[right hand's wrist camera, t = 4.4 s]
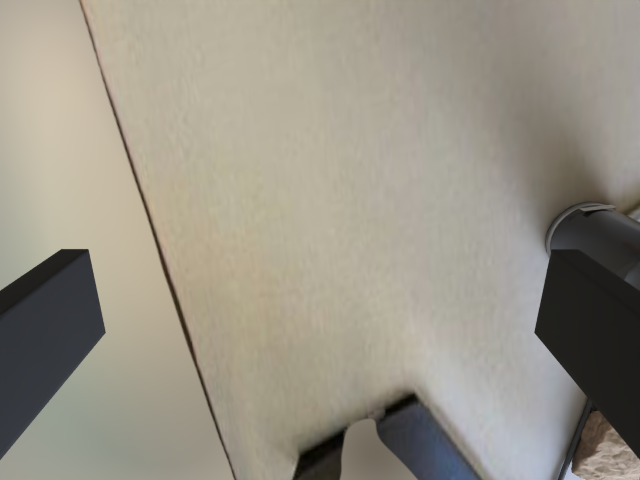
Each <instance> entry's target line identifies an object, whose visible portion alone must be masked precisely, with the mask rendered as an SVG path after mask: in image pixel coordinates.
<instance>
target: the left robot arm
mask: <svg viewBox="0 0 640 480" xmlns="http://www.w3.org/2000/svg"><path fill="white" fill-rule="evenodd" d="M615 207H616V206H614V205H604V204H602V203H597V202H586V203H581V204H577V205H575V206H572V207H570V208H569V209H567V210H565V211H564V212H563V213H561V214H560V215H559V216H558V217H557V218H556V219H555V221H554V222H553V223H552V225H551V227H550V228H549V231H548V233H547V237H546V251H547V254H548V256H549V258H550V254H551V250H552V249H579V250H580V251H582V252H583V253H585V254H586V255H588V256H589V257H591V258H592V259H594V260H595V261H597V262H598V263H600V264H601V265H603V266H604V267H606V268H607V269H608V270H610V271H611V272H613V273H614V274H616V275H617V276H619V277H620V278H622V279H623V280H625V281H626V282H628V283H629V284H631V285H632V286H634V287H635V288H636V289H638V290H639V291H640V222H639V221H637V220H635V219H633V218H630V217H628V216H626V215H624V214H622V213H620V212H618V211H616V210H614V209H613V208H615ZM592 405H593V403H592V402H591V400H590V399H589V398H588V401H587V404H586V407H585V410H584V413H583V416H582V418H581V421H580V424H579V426H578V429H577V431H576V434H575V436H574V439H573V442H572V444H571V447H570V449H569V452H568V454H567V457H566V459H565V462H564V464H563V467H562V469H561V472H560V475H559V477H558V480H564V477H565V474H566V472H567V469H568V467H569V464H570V462H571V459H572V457H573V455H574V452H575V450H576V447H577V445H578V442H579V440H580V437H581V434H582V431H583V428H584V427H585V424H586V421H587V419H588V416H589V414H590V411H591V408H592Z"/></svg>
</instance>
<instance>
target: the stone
mask: <svg viewBox="0 0 640 480" xmlns="http://www.w3.org/2000/svg"><path fill="white" fill-rule="evenodd" d="M571 470H572V473H574V474H575V475H577V476H579V477H580V478H583V479H586V480H640V460H639V458H638V457H637V456H636V455H635V454H634V452H633V451H632V450H631V449H630V448H629V446H628V445H627V444H626V443H625V442H624V440H623V439H622V438H621V437H620V435H619V434H618V433H617V432H616V431H615V429H614V428H613V427H612V426H611V425H610V423H609V422H608V421H607V420H606V419H605V417H604V416H603V415H602V414H601V413H600V411H593V412H591V413H590V414H589V416H588V419H587V421H586V424H585V427H584V428H583V431H582V434H581V441H580V443H579V444H578V447H577V450H576V453H575V456H574V457H573V460H572V468H571Z"/></svg>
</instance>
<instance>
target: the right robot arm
mask: <svg viewBox="0 0 640 480" xmlns="http://www.w3.org/2000/svg"><path fill="white" fill-rule="evenodd" d="M105 333H106V332H105V327H104V322H103V317H102V313H101V308H100V303H99V298H98V293H97V289H96V284H95V279H94V274H93V269H92V264H91V260H90V254H89V250H88V249H61V250H60V251H58V252H57V253H55V254H54V255H52V256H51V257H49V258H48V259H46V260H45V261H43V262H42V263H40V264H39V265H37V266H36V267H34V268H33V269H32V270H30V271H29V272H27V273H26V274H24V275H23V276H21V277H20V278H18V279H17V280H15V281H14V282H12V283H11V284H9V285H8V286H6V287H5V288H4V289H2V290H1V291H0V460H1V458H2V457H3V456H4V455H5V454H6V452H7V451H8V450H9V449H10V447H11V446H12V445H13V444H14V443H15V442H16V440H17V439H18V438H19V437H20V435H21V434H22V433H23V432H24V431H25V429H26V428H27V427H28V426H29V425H30V423H31V422H32V421H33V420H34V419H35V417H36V416H37V415H38V414H39V413H40V411H41V410H42V409H43V408H44V406H45V405H46V404H47V403H48V402H49V400H50V399H51V398H52V397H53V396H54V394H55V393H56V392H57V391H58V390H59V388H60V387H61V386H62V385H63V383H64V382H65V381H66V380H67V379H68V377H69V376H70V375H71V374H72V373H73V371H74V370H75V369H76V368H77V367H78V365H79V364H80V363H81V362H82V361H83V359H84V358H85V357H86V356H87V355H88V353H89V352H90V351H91V350H92V348H93V347H94V346H95V345H96V344H97V342H98V341H99V340H100V339H101V338H102V336H103V335H104V334H105ZM534 333H535V334H536V335H537V336H538V338H539V339H540V340H541V341H542V342H543V344H544V345H545V346H546V347H547V348H548V350H549V351H550V352H551V353H552V355H553V356H554V357H555V358H556V359H557V361H558V362H559V363H560V364H561V365H562V367H563V368H564V369H565V370H566V371H567V373H568V374H569V375H570V376H571V377H572V379H573V380H574V381H575V382H576V384H577V385H578V386H579V387H580V388H581V390H582V391H583V392H584V393H585V394H586V396H587V397H588V398H589V399H590V400H591V402H592V403H593V404H594V405H595V406H596V408H597V409H598V410H599V411H600V413H601V414H602V415H603V416H604V417H605V419H606V420H607V421H608V422H609V423H610V425H611V426H612V427H613V428H614V429H615V431H616V432H617V433H618V434H619V435H620V437H621V438H622V439H623V440H624V442H625V443H626V444H627V445H628V446H629V448H630V449H631V450H632V451H633V452H634V454H635V455H636V456H637V457H638V458H639V460H640V291H639V290H638V289H636V288H635V287H634V286H632V285H631V284H629V283H628V282H626V281H625V280H623V279H622V278H620V277H619V276H617V275H616V274H614V273H613V272H611V271H610V270H608V269H607V268H606V267H604V266H603V265H601V264H600V263H598V262H597V261H595V260H594V259H592V258H591V257H589V256H588V255H586V254H585V253H583V252H582V251H580V250H579V249H552V250H551V254H550V259H549V264H548V269H547V274H546V279H545V284H544V288H543V293H542V298H541V303H540V308H539V313H538V317H537V322H536V327H535V332H534Z"/></svg>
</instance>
